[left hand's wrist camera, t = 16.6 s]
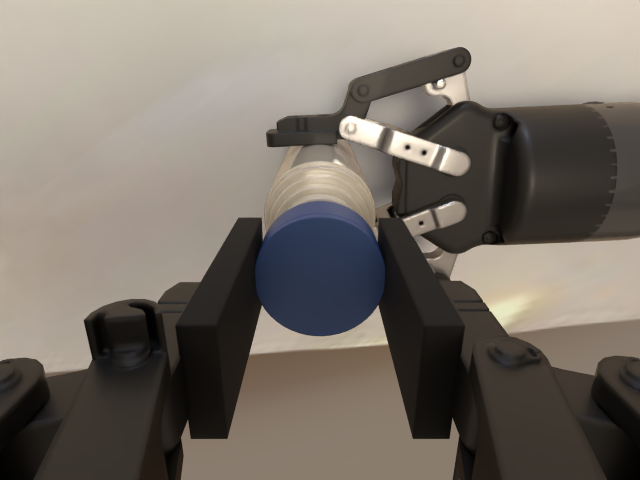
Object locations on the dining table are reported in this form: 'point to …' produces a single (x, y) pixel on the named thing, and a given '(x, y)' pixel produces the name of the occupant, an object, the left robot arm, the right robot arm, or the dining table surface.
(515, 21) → the dining table surface
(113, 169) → the dining table surface
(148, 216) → the dining table surface
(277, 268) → the cap
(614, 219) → the right robot arm
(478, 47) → the dining table surface
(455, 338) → the left robot arm
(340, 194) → the bottle
